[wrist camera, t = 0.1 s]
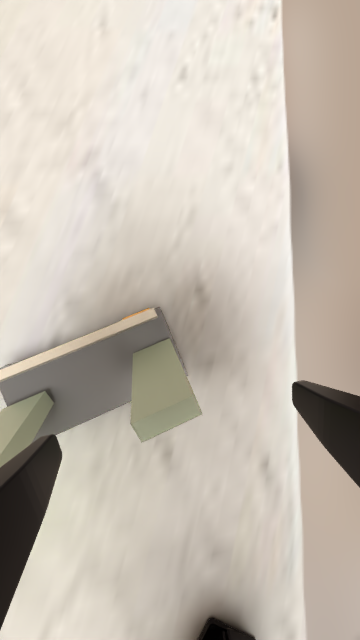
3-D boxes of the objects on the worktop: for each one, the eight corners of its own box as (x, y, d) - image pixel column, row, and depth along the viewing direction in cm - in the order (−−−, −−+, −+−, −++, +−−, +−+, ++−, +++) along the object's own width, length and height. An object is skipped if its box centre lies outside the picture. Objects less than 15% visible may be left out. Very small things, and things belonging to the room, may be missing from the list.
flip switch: (174, 350, 20) (202, 414, 12) (139, 366, 20) (141, 442, 12) (169, 338, 20) (194, 394, 11) (132, 353, 19) (130, 424, 11)
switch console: (186, 371, 23) (192, 384, 18) (38, 437, 21) (-3, 473, 16) (159, 308, 23) (158, 303, 17) (9, 369, 21) (-41, 383, 16)
